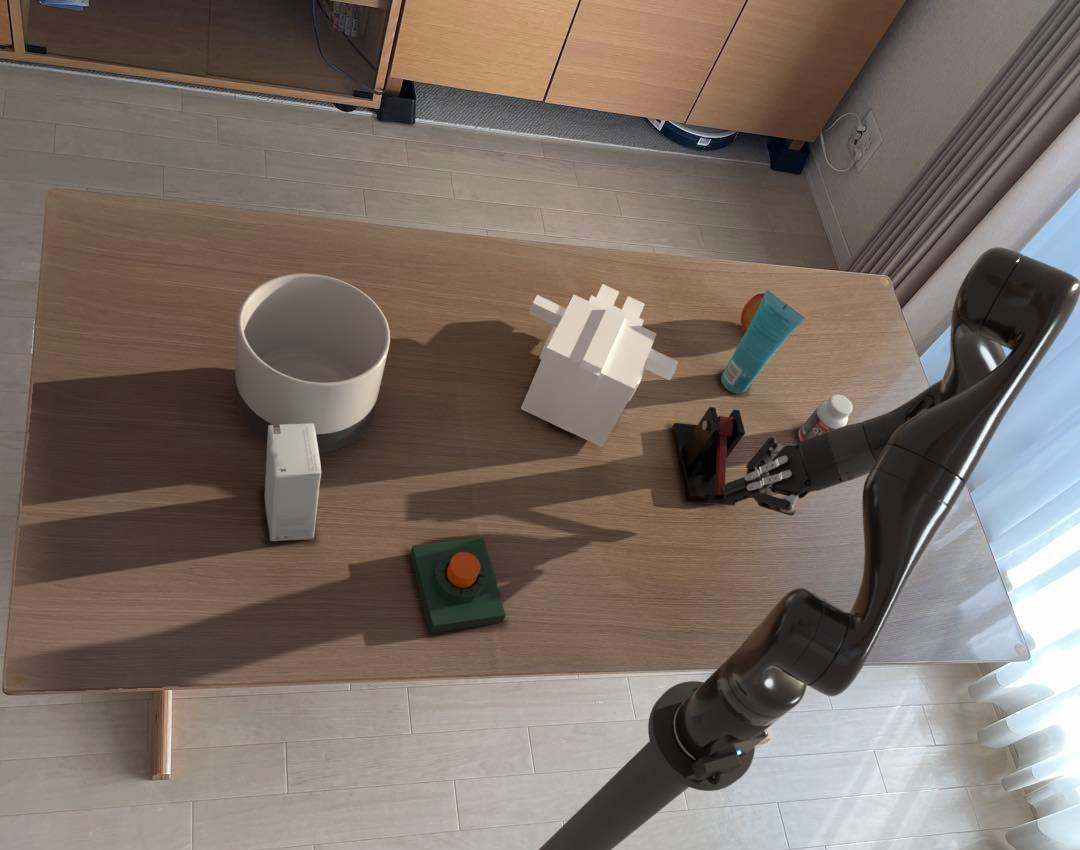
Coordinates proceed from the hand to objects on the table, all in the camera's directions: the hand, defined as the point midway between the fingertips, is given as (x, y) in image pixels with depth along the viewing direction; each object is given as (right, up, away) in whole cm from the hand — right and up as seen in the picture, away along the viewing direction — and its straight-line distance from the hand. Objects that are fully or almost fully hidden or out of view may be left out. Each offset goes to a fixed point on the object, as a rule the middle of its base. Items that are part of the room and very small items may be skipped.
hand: (724, 495), depth 149 cm
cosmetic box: (-61, -3, -15) cm, 63 cm away
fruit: (+11, +30, +32) cm, 45 cm away
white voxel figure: (-20, +19, +14) cm, 31 cm away
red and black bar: (-1, +5, +3) cm, 6 cm away
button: (-38, -11, -17) cm, 43 cm away
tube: (+6, +20, +23) cm, 31 cm away
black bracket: (-3, +5, +10) cm, 11 cm away
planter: (-61, +12, -5) cm, 62 cm away
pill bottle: (+19, +10, +21) cm, 29 cm away
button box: (-39, -13, -14) cm, 43 cm away
